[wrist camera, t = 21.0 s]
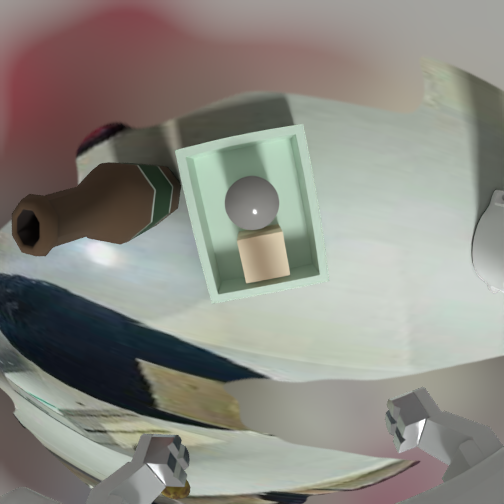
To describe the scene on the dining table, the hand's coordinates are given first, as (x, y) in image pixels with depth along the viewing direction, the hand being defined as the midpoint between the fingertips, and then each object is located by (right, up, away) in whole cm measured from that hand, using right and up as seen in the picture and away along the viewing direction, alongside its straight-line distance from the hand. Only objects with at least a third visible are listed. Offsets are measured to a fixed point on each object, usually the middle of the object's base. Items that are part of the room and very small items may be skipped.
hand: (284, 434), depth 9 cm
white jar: (-1, +14, +26) cm, 29 cm away
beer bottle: (-14, +14, +27) cm, 33 cm away
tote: (-1, +12, +27) cm, 29 cm away
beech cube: (0, +7, +28) cm, 29 cm away
